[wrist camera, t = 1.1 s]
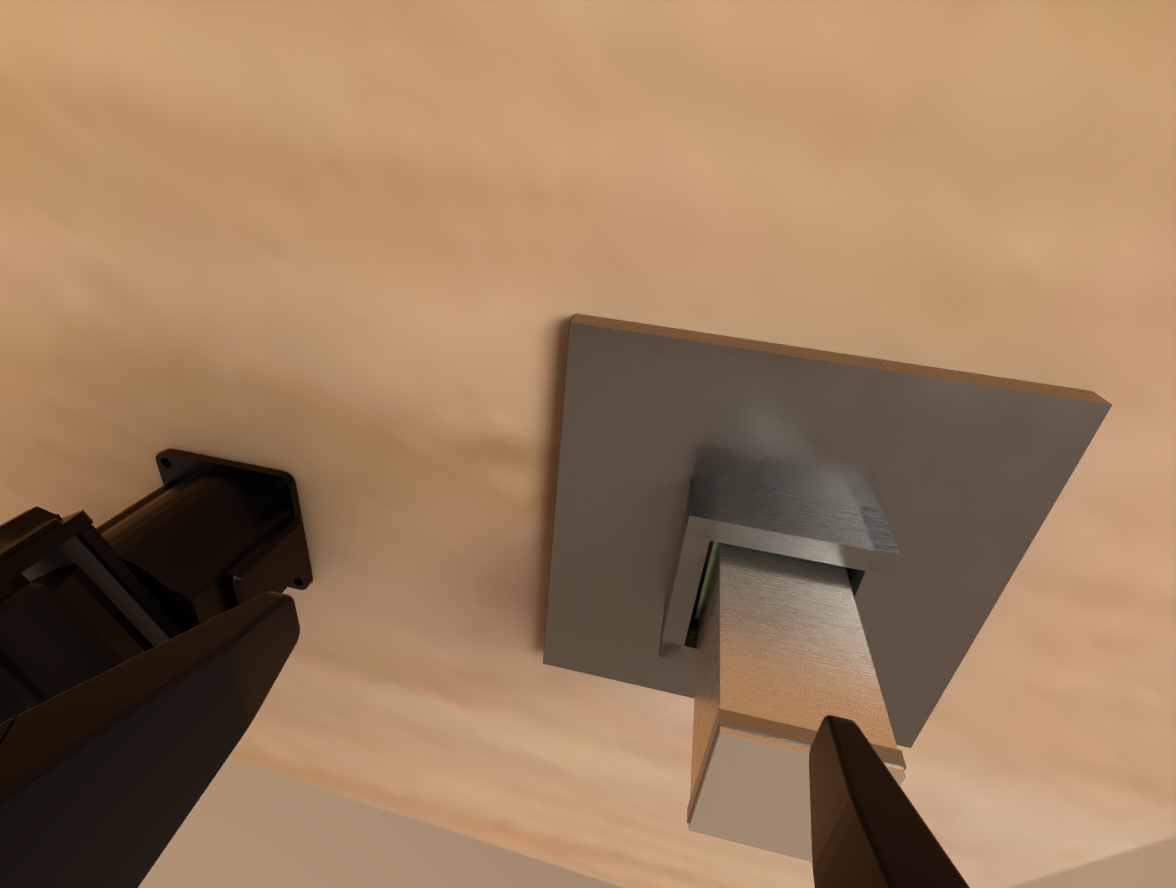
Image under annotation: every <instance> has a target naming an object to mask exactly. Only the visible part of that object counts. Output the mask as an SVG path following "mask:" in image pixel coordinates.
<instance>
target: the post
mask: <svg viewBox="0 0 1176 888" xmlns="http://www.w3.org/2000/svg"><path fill="white" fill-rule="evenodd" d="M695 618H698V631H697V654H696V677H695V699H694V722H693V745H692V768H691V791H690V801H689V805H688V810H687V823H689V830H690V831H694V832H698V833H702V834H706V835H710V836H714V837H718V838H721V839H725V840H729V841H733V842H737V843H741V844H745V845H748V846H752V847H756V848H760V849H764V850H768V851H772V852H776V853H779V854H783V855H787V856H791V857H795V858H799V859H803V860H806V861H810V862H812V841H811V811H810V781H809V753H810V748H811V745H812V743H813V741H814V738H815V736H816V734H817V731H818V729H819V727H820V725H821V722H822V720H823V719H824V717H825V716H827V715H833V716H837V717H842V718H846V719H850V720H852V721H854V722H855V723H856V724H857V725H858V726H859V728H860V729H861V731H862V732H863V734H864V735H865V737H866V738H867V739H868V741H869V742H870V744H871V745H872V747H873V748H874V750H875V751H876V752H877V754H878V755H879V757H880V758H881V760H882V761H883V763H884V764H885V766H886V767H887V768H888V770H889V771H890V773H891V774H892V776H893V777H894V779H895V780H896V781H897V783H898V784H899V786H900V785H901V784H902V782H903V780H904V779H905V777H906V776H905V773H904V770H905V769H906V765H905V761H904V758H903V754H902V751H901V750H898V749H897V745H896V742H895V738H894V735H893V731H892V728H891V724H890V721H889V717H888V714H887V711H886V707H885V704H884V700H883V697H882V693H881V690H880V686H879V683H878V679H877V676H876V672H875V669H874V665H873V662H872V659H871V655H870V652H869V648H868V645H867V641H866V638H865V634H864V631H863V627H862V624H861V620H860V617H859V614H858V610H857V607H856V603H855V600H854V596H853V593H852V589H851V586H850V582H849V579H848V575H847V572H846V568H845V567H842V566H837V565H832V564H827V563H822V562H817V561H812V560H807V559H801V558H796V557H791V556H786V555H781V554H776V553H771V552H766V551H760V550H755V549H750V548H745V547H740V546H735V545H730V544H725V543H719V542H714V541H711V543H710V547H709V551H708V555H707V559H706V563H705V567H704V571H703V575H702V579H701V583H700V587H699V591H698V596H697V600H696V607H695Z"/></svg>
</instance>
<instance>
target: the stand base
mask: <svg viewBox="0 0 1176 888" xmlns="http://www.w3.org/2000/svg"><path fill="white" fill-rule="evenodd" d="M1111 406H1112V404H1110V403H1109V402H1107V401H1106V400H1104V399H1103V398H1102V397H1100V396H1099V395H1097V394H1096V393H1094V392H1093V391H1086V390H1080V389H1073V388H1066V387H1060V386H1053V385H1046V384H1040V383H1033V382H1026V381H1020V380H1013V379H1006V378H1000V377H993V376H986V375H980V374H973V373H967V372H960V371H953V370H947V369H940V368H933V367H927V366H920V365H913V364H907V363H900V362H893V361H887V360H880V359H874V358H867V357H860V356H854V355H847V354H840V353H834V352H827V351H820V350H814V349H807V348H800V347H794V346H787V345H781V344H774V343H767V342H761V341H754V340H747V339H741V338H734V337H727V336H721V335H714V334H707V333H701V332H694V331H688V330H681V329H674V328H668V327H661V326H654V325H648V324H641V323H634V322H628V321H621V320H614V319H608V318H601V317H594V316H588V315H581V314H576V315H575V317H574V318H573V319H572V321H571V322H570V331H569V343H568V356H567V368H566V381H565V393H564V406H563V418H562V430H561V443H560V455H559V468H558V480H557V493H556V505H555V518H554V530H553V543H552V555H551V568H550V580H549V593H548V605H547V618H546V630H545V643H544V655H543V664H548V665H552V666H556V667H561V668H565V669H569V670H574V671H578V672H582V673H587V674H591V675H595V676H600V677H604V678H609V679H613V680H617V681H622V682H626V683H630V684H635V685H639V686H643V687H648V688H652V689H656V690H661V691H665V692H669V693H674V694H678V695H683V696H687V697H691V698H695V677H696V654H697V631H698V618H695V607H696V600H697V596H698V591H699V587H700V583H701V579H702V575H703V571H704V567H705V563H706V559H707V555H708V551H709V547H710V543H711V541H714V542H719V543H725V544H730V545H735V546H740V547H745V548H750V549H755V550H760V551H766V552H771V553H776V554H781V555H786V556H791V557H796V558H801V559H807V560H812V561H817V562H822V563H827V564H832V565H837V566H842V567H845V568H846V572H847V575H848V579H849V582H850V586H851V589H852V593H853V596H854V600H855V603H856V607H857V610H858V614H859V617H860V620H861V624H862V627H863V631H864V634H865V638H866V641H867V645H868V648H869V652H870V655H871V659H872V662H873V665H874V669H875V672H876V676H877V679H878V683H879V686H880V690H881V693H882V697H883V700H884V704H885V707H886V711H887V714H888V717H889V721H890V724H891V728H892V731H893V735H894V738H895V742H896V745H900V746H904V747H909V748H911V747H912V745H913V743H914V741H915V740H916V738H917V736H918V735H919V733H920V731H921V730H922V728H923V726H924V724H925V723H926V721H927V719H928V718H929V716H930V714H931V713H932V711H933V709H934V707H935V706H936V704H937V702H938V701H939V699H940V697H941V696H942V694H943V692H944V690H945V689H946V687H947V685H948V684H949V682H950V680H951V679H952V677H953V675H954V673H955V672H956V670H957V668H958V667H959V665H960V663H961V661H962V660H963V658H964V656H965V655H966V653H967V651H968V650H969V648H970V646H971V644H972V643H973V641H974V639H975V638H976V636H977V634H978V633H979V631H980V629H981V627H982V626H983V624H984V622H985V621H986V619H987V617H988V616H989V614H990V612H991V610H992V609H993V607H994V605H995V604H996V602H997V600H998V599H999V597H1000V595H1001V593H1002V592H1003V590H1004V588H1005V587H1006V585H1007V583H1008V581H1009V580H1010V578H1011V576H1012V575H1013V573H1014V571H1015V570H1016V568H1017V566H1018V564H1019V563H1020V561H1021V559H1022V558H1023V556H1024V554H1025V553H1026V551H1027V549H1028V547H1029V546H1030V544H1031V542H1032V541H1033V539H1034V537H1035V536H1036V534H1037V532H1038V530H1039V529H1040V527H1041V525H1042V524H1043V522H1044V520H1045V519H1046V517H1047V515H1048V513H1049V512H1050V510H1051V508H1052V507H1053V505H1054V503H1055V501H1056V500H1057V498H1058V496H1059V495H1060V493H1061V491H1062V490H1063V488H1064V486H1065V484H1066V483H1067V481H1068V479H1069V478H1070V476H1071V474H1072V473H1073V471H1074V469H1075V467H1076V466H1077V464H1078V462H1079V461H1080V459H1081V457H1082V456H1083V454H1084V452H1085V450H1086V449H1087V447H1088V445H1089V444H1090V442H1091V440H1092V439H1093V437H1094V435H1095V433H1096V432H1097V430H1098V428H1099V427H1100V425H1101V423H1102V421H1103V420H1104V418H1105V416H1106V415H1107V413H1108V411H1109V410H1110V408H1111Z"/></svg>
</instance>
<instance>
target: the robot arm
mask: <svg viewBox="0 0 1176 888" xmlns="http://www.w3.org/2000/svg"><path fill="white" fill-rule="evenodd" d="M156 461H157V465H158V468H159V471H160V474H161V477H162V481H163V484H164V485H163V486H162V487H160V488H159V489H157V490H156V491H154V492H152V493H151V494H149V495H148V496H146V497H145V498H143V499H141V500H140V501H138V502H137V503H135V504H134V505H132V506H130V507H129V508H127V509H126V510H124V511H123V512H121V513H119V514H118V515H116V516H115V517H113V518H112V519H110V520H108V521H107V522H105V523H104V524H102V525H101V526H99V527H97V528H96V529H95V528H94V526H93V525H92V523H93V521H92V520H91V519H90V517H89V516H88V515H87V514H86V513H85V512H84V511H83V510H82V511H79V512H77V513H74V514H72V515H69V516H67V517H64V518H61V517H60V516H59V514H56V515H55V514H53V513H51V512H48V511H46V510H44V509H42V508H39V507H34V508H32V509H30V510H27V511H25V512H24V513H22V514H20V515H18V516H16V517H15V518H13V519H11V520H9V521H7V522H5V523H4V524H2V525H0V888H138V887H139V885H140V884H141V882H142V881H143V879H144V878H145V876H146V875H147V873H148V872H149V871H150V869H151V868H152V866H153V865H154V863H155V862H156V861H157V859H158V858H159V856H160V855H161V853H162V852H163V850H164V849H165V848H166V846H167V845H168V843H169V842H170V840H171V839H172V837H173V836H174V835H175V833H176V832H177V830H178V829H179V827H180V826H181V824H182V823H183V822H184V820H185V819H186V817H187V816H188V814H189V813H190V811H191V810H192V809H193V807H194V806H195V804H196V803H197V801H198V800H199V798H200V797H201V795H202V794H203V793H204V791H205V790H206V788H207V787H208V785H209V784H210V782H211V781H212V779H213V778H214V777H215V775H216V774H217V772H218V771H219V770H220V768H221V767H222V765H223V763H224V762H225V761H226V759H227V758H228V757H229V755H230V754H231V752H232V751H233V749H234V748H235V746H236V745H237V744H238V742H239V741H240V739H241V738H242V736H243V735H244V733H245V732H246V730H247V729H248V727H249V726H250V724H251V722H252V721H253V719H254V717H255V716H256V714H257V712H258V711H259V709H260V707H261V705H262V704H263V702H264V700H265V698H266V696H267V695H268V693H269V691H270V689H271V688H272V686H273V684H274V682H275V680H276V679H277V677H278V675H279V673H280V672H281V670H282V668H283V666H284V664H285V663H286V661H287V659H288V657H289V655H290V654H291V652H292V650H293V648H294V647H295V645H296V643H297V641H298V638H299V634H300V626H299V621H298V616H297V612H296V607H295V602H294V599H293V598H292V597H291V596H290V595H287V594H283V593H282V592H283V591H284V590H285V589H286V588H287V587H290V588H295V589H299V590H304V589H306V588H307V587H308V586H309V585H310V584H311V583H312V581H313V576H312V571H311V565H310V560H309V554H308V549H307V543H306V538H305V532H304V526H303V521H302V515H301V510H300V504H299V499H298V493H297V488H296V483H295V480H294V478H293V477H292V476H291V475H290V474H289V473H287V472H284V471H280V470H275V469H270V468H265V467H260V466H255V465H250V464H245V463H240V462H235V461H230V460H225V459H220V458H215V457H210V456H205V455H200V454H195V453H190V452H184V451H179V450H174V449H166V450H164V451H162V452H161V453H159V454H157V456H156ZM281 482H282V483H283V484H284V485H283V484H282V483H281ZM809 781H810V811H811V841H812V864H813V875H814V884H815V888H970V887H969V886H968V884H967V883H966V882H965V880H964V879H963V877H962V876H961V874H960V873H959V871H958V870H957V868H956V867H955V866H954V864H953V863H952V861H951V860H950V858H949V857H948V855H947V854H946V853H945V851H944V850H943V848H942V847H941V845H940V844H939V842H938V841H937V839H936V838H935V837H934V835H933V834H932V832H931V831H930V829H929V828H928V826H927V825H926V824H925V822H924V821H923V819H922V818H921V816H920V815H919V813H918V812H917V810H916V809H915V808H914V806H913V805H912V803H911V802H910V800H909V799H908V797H907V796H906V795H905V793H904V792H903V790H902V789H901V787H900V786H899V784H898V783H897V781H896V780H895V779H894V777H893V776H892V774H891V773H890V771H889V770H888V768H887V767H886V766H885V764H884V763H883V761H882V760H881V758H880V757H879V755H878V754H877V752H876V751H875V750H874V748H873V747H872V745H871V744H870V742H869V741H868V739H867V738H866V737H865V735H864V734H863V732H862V731H861V729H860V728H859V726H858V725H857V724H856V723H855V722H854V721H852V720H850V719H846V718H842V717H837V716H833V715H827V716H825V717H824V719H823V720H822V722H821V725H820V727H819V729H818V731H817V734H816V736H815V738H814V741H813V743H812V745H811V748H810V753H809Z"/></svg>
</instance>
